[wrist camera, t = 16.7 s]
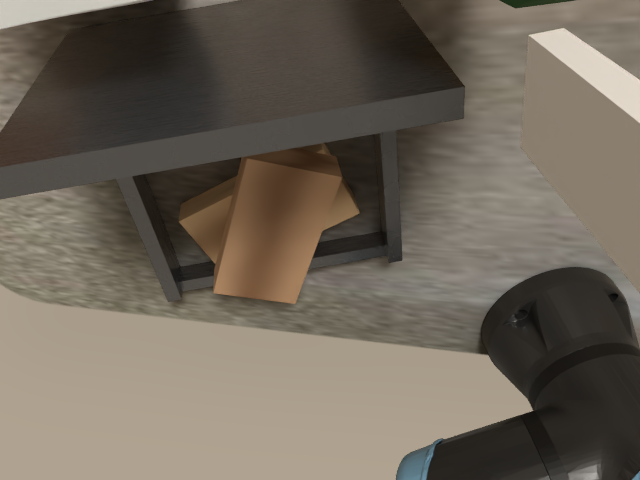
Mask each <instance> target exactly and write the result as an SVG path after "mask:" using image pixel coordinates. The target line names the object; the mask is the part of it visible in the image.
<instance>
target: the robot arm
mask: <svg viewBox="0 0 640 480" xmlns="http://www.w3.org/2000/svg"><path fill="white" fill-rule="evenodd" d="M521 149H522V150H523V151H524V153H525V154H526V155H527V156H528V158H529V159H530V160H531V161H532V162H533V164H534V165H535V166H536V167H537V168H538V170H539V171H540V172H541V173H542V175H543V176H544V177H545V178H546V179H547V181H548V182H549V183H550V184H551V186H552V187H553V188H554V189H555V190H556V192H557V193H558V194H559V195H560V196H561V198H562V199H563V200H564V201H565V203H566V204H567V205H568V206H569V207H570V209H571V210H572V211H573V212H574V214H575V215H576V216H577V217H578V218H579V220H580V221H581V222H582V223H583V225H584V226H585V227H586V228H587V229H588V231H589V232H590V233H591V234H592V235H593V237H594V238H595V239H596V240H597V242H598V243H599V244H600V245H601V246H602V248H603V249H604V250H605V251H606V253H607V254H608V255H609V256H610V257H611V259H612V260H613V261H614V262H615V264H616V265H617V266H618V267H619V268H620V270H621V271H622V272H623V273H624V274H625V276H626V277H627V278H628V279H629V281H630V282H631V283H632V284H633V285H634V287H635V288H636V289H637V290H638V292H639V293H640V80H639V79H637V78H636V77H635V76H633V75H632V74H630V73H629V72H627V71H626V70H624V69H623V68H621V67H620V66H618V65H617V64H616V63H614V62H613V61H611V60H610V59H608V58H607V57H605V56H604V55H602V54H601V53H599V52H598V51H597V50H595V49H594V48H592V47H591V46H589V45H588V44H586V43H585V42H583V41H582V40H580V39H579V38H578V37H576V36H575V35H573V34H572V33H570V32H569V31H567V30H566V29H564V28H562V29H557V30H552V31H547V32H542V33H537V34H532V35H529V36H528V50H527V64H526V78H525V92H524V106H523V120H522V134H521ZM482 340H483V344H484V346H485V348H486V350H487V353H488V355H489V357H490V359H491V361H492V362H493V363H494V365H495V366H496V367H497V368H498V369H499V370H500V371H501V372H502V373H503V374H504V375H505V376H506V377H507V378H508V379H509V380H510V381H511V382H512V383H513V384H514V385H515V387H516V388H517V389H518V390H519V391H520V392H522V394H523V395H524V396H526V398H527V399H528V401H529V402H530V404H531V406H532V408H533V411H532V412H529V413H526V414H523V415H520V416H516V417H513V418H510V419H506V420H504V421H500V422H497V423H494V424H491V425H488V426H485V427H482V428H479V429H476V430H472V431H470V432H466V433H463V434H460V435H457V436H454V437H451V438H448V439H438V440H436V441H435V442H434V443H433V444H431V445H429V446H426V447H424V448H421V449H419V450H416V451H413V452H411V453H409V454H407V455H406V456H405V457H404V458H403V460H402V461H401V463H400V465H399V467H398V470H397V475H396V480H640V348H639V344H638V341H637V337H636V333H635V329H634V326H633V322H632V318H631V315H630V311H629V307H628V304H627V301H626V299H625V297H624V296H623V294H622V293H621V291H620V290H619V289H618V287H617V286H616V285H615V284H614V282H613V281H612V280H611V279H610V278H609V277H608V276H606V275H605V274H603V273H601V272H599V271H596V270H593V269H589V268H581V267H570V268H561V269H556V270H551V271H548V272H544V273H541V274H539V275H536V276H534V277H531V278H529V279H527V280H525V281H523V282H521V283H520V284H518V285H516V286H515V287H514V288H512V289H511V290H509V291H508V292H507V293H506V294H504V295H503V296H502V297H501V298H500V299H499V300H498V301H497V302H496V303H495V304H494V306H493V307H492V308H491V310H490V311H489V313H488V314H487V316H486V318H485V320H484V323H483V327H482Z"/></svg>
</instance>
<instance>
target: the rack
mask: <svg viewBox="0 0 640 480" xmlns="http://www.w3.org/2000/svg"><path fill="white" fill-rule="evenodd" d="M464 96H465V86H464V85H463V84H462V82H461V81H460V80H459V78H458V77H457V76H456V75H455V73H454V72H453V71H452V69H451V68H450V67H449V66H448V64H447V63H446V62H445V60H444V59H443V58H442V56H441V55H440V54H439V53H438V51H437V50H436V49H435V47H434V46H433V45H432V44H431V42H430V41H429V40H428V38H427V37H426V36H425V35H424V33H423V32H422V31H421V29H420V28H419V27H418V25H417V24H416V23H415V22H414V20H413V19H412V18H411V16H410V15H409V14H408V13H407V11H406V10H405V9H404V7H403V6H402V5H401V4H400V2H399V1H398V0H241V1H235V2H229V3H223V4H218V5H212V6H206V7H200V8H194V9H188V10H182V11H177V12H171V13H165V14H159V15H153V16H147V17H142V18H136V19H130V20H124V21H118V22H112V23H106V24H101V25H95V26H89V27H83V28H77V29H71V30H69V32H68V33H67V35H66V36H65V38H64V39H63V41H62V42H61V44H60V45H59V46H58V48H57V49H56V51H55V52H54V54H53V55H52V57H51V58H50V60H49V61H48V63H47V64H46V66H45V67H44V69H43V70H42V72H41V73H40V75H39V76H38V77H37V79H36V80H35V82H34V83H33V85H32V86H31V88H30V89H29V91H28V92H27V94H26V95H25V97H24V98H23V100H22V101H21V103H20V104H19V106H18V107H17V108H16V110H15V111H14V113H13V114H12V116H11V117H10V119H9V120H8V122H7V123H6V125H5V126H4V128H3V129H2V131H1V132H0V199H5V198H10V197H16V196H22V195H27V194H33V193H39V192H45V191H50V190H56V189H62V188H68V187H73V186H79V185H85V184H91V183H96V182H102V181H108V180H114V179H116V181H117V183H118V185H119V188H120V190H121V192H122V195H123V197H124V199H125V202H126V204H127V206H128V209H129V211H130V213H131V216H132V218H133V220H134V223H135V225H136V227H137V230H138V232H139V235H140V237H141V239H142V242H143V244H144V246H145V249H146V251H147V253H148V256H149V258H150V260H151V263H152V265H153V267H154V270H155V272H156V274H157V277H158V279H159V281H160V284H161V286H162V289H163V291H164V293H165V296H166V298H167V300H168V302H170V301H176V300H182V292H183V291H189V290H195V289H200V288H206V287H212V286H214V268H215V263H214V262H213V261H212V262H207V263H201V264H195V265H190V266H184V267H180V265H179V263H178V260H177V257H176V255H175V252H174V250H173V247H172V244H171V242H170V239H169V237H168V234H167V231H166V229H165V226H164V224H163V221H162V218H161V216H160V213H159V211H158V208H157V205H156V203H155V200H154V198H153V195H152V192H151V190H150V187H149V185H148V182H147V179H146V177H145V174H148V173H154V172H159V171H165V170H171V169H177V168H182V167H188V166H194V165H200V164H205V163H211V162H217V161H223V160H228V159H234V158H240V157H246V156H251V155H257V154H263V153H269V152H274V151H280V150H286V149H291V148H297V147H303V146H309V145H314V144H320V143H326V142H332V141H337V140H343V139H349V138H355V137H360V136H366V135H372V134H374V142H375V155H376V168H377V181H378V194H379V207H380V220H381V232H377V233H371V234H365V235H360V236H354V237H348V238H343V239H337V240H331V241H326V242H320V243H318V244H317V247H316V249H315V252H314V255H313V257H312V260H311V263H310V265H309V268H308V269H313V268H319V267H325V266H330V265H336V264H342V263H347V262H353V261H359V260H364V259H370V258H376V257H381V256H387V258H388V261H389V263H391V262H396V261H402V243H401V222H400V201H399V180H398V160H397V139H396V130H400V129H406V128H412V127H418V126H423V125H429V124H435V123H441V122H446V121H452V120H458V119H464Z"/></svg>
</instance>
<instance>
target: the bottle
mask: <svg viewBox="0 0 640 480" xmlns="http://www.w3.org/2000/svg"><path fill="white" fill-rule="evenodd" d="M500 1H502V2H504V3H506V4H508V5H510V6H512V7H514V8H522V7H529V6H537V5H544V4H552V3H559V2H567V1H574V0H500Z"/></svg>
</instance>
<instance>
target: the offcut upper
mask: <svg viewBox="0 0 640 480" xmlns="http://www.w3.org/2000/svg"><path fill="white" fill-rule="evenodd" d="M341 179H342V175H341V171H340V167H339V164H338V160H337V157H336V156H331V155H327V154H321V153H316V152H312V151H307V150H303V149H298V148H291V149H286V150H280V151H274V152H269V153H263V154H257V155H251V156H246V157H242V158H241V162H240V167H239V171H238V175H237V179H236V183H235V187H234V191H233V195H232V199H231V203H230V207H229V211H228V216H227V220H226V224H225V228H224V232H223V236H222V240H221V244H220V248H219V252H218V256H217V260H216V264H215V268H214V289H213V293H216V294H224V295H231V296H239V297H247V298H254V299H262V300H269V301H277V302H285V303H292V304H295V303H296V300H297V298H298V295H299V292H300V290H301V287H302V284H303V281H304V279H305V276H306V273H307V271H308V268H309V265H310V263H311V260H312V257H313V255H314V252H315V249H316V247H317V244H318V241H319V239H320V236H321V233H322V230H323V228H324V225H325V222H326V220H327V217H328V214H329V212H330V209H331V206H332V204H333V201H334V198H335V196H336V193H337V190H338V187H339V185H340V182H341Z"/></svg>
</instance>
